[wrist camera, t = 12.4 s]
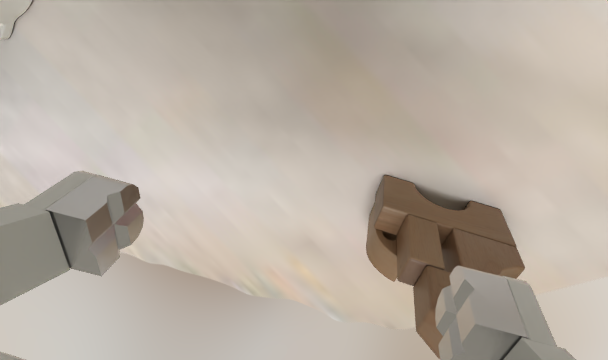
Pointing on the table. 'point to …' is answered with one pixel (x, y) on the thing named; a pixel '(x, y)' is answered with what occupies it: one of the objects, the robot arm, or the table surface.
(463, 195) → the table surface
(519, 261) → the wooden toy
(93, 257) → the robot arm
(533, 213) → the table surface
